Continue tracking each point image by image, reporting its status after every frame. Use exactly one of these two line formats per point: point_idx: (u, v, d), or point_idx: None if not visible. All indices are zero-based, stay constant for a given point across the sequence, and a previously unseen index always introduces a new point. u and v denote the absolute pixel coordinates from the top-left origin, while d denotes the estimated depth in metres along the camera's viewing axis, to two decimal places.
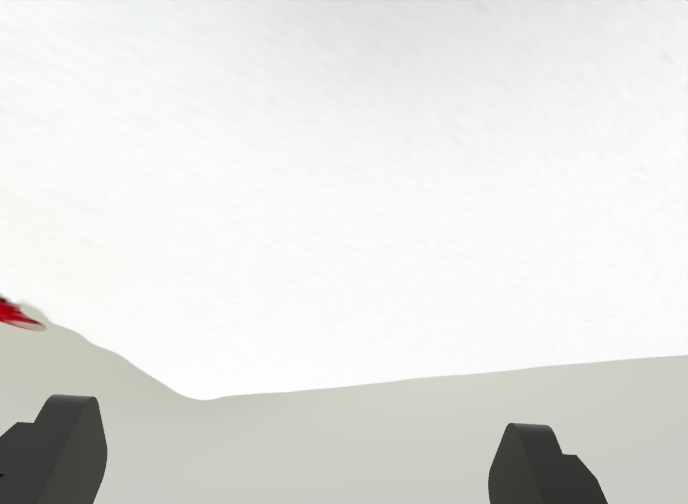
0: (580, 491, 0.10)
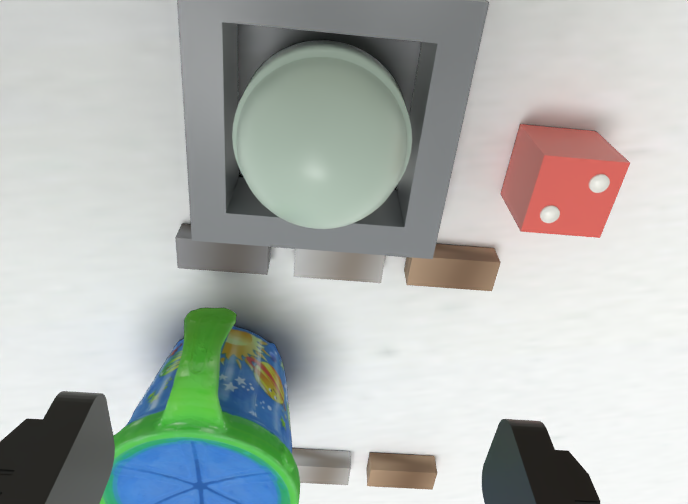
0: (572, 486, 0.10)
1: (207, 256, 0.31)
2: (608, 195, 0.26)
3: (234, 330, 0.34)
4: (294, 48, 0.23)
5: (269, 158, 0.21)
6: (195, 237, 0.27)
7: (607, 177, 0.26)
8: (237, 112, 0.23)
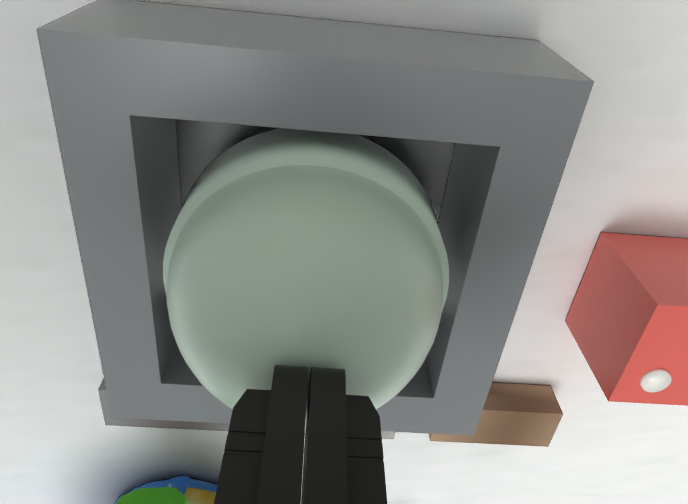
0: (359, 426, 0.11)
1: None
2: None
3: (192, 490, 0.25)
4: (260, 143, 0.14)
5: (214, 349, 0.12)
6: (116, 414, 0.18)
7: None
8: (168, 246, 0.14)
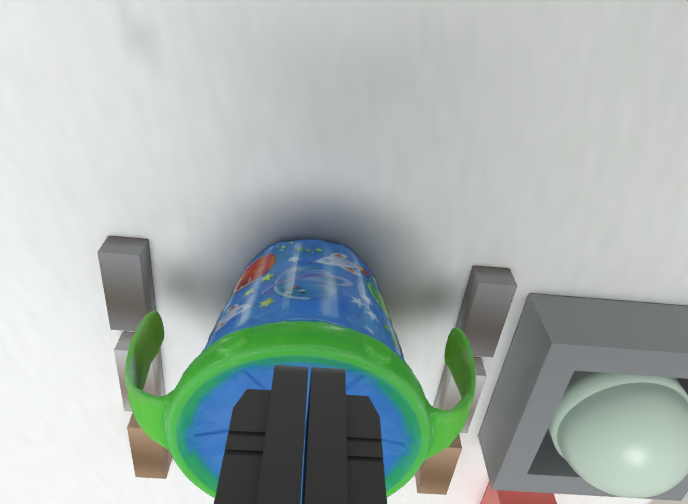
0: (359, 426, 0.11)
1: (489, 309, 0.29)
2: None
3: None
4: None
5: (671, 452, 0.28)
6: (554, 346, 0.27)
7: None
8: (667, 384, 0.29)
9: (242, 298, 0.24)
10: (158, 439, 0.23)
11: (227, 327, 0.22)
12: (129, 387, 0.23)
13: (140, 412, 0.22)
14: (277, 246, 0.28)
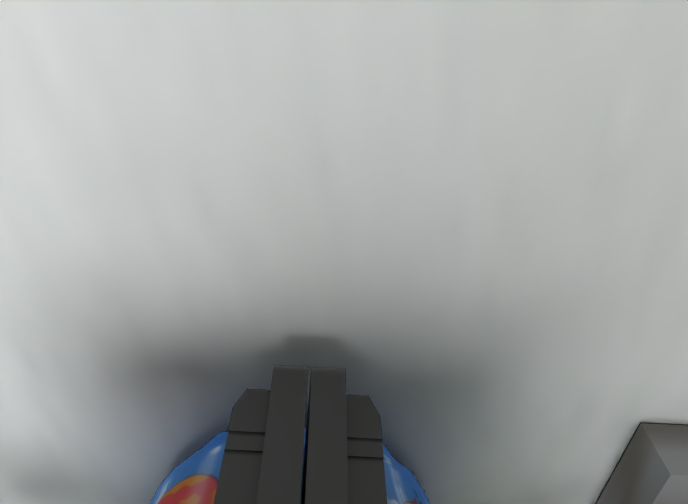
0: (359, 426, 0.11)
1: None
2: None
3: None
4: None
5: None
6: None
7: None
8: None
9: None
10: None
11: None
12: None
13: None
14: None
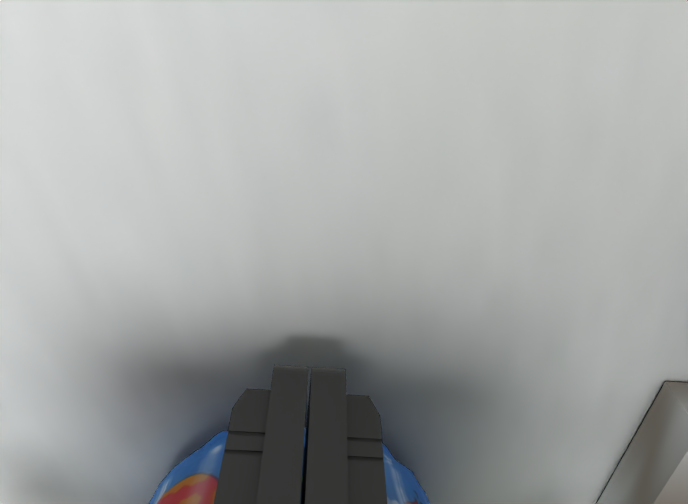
0: (359, 426, 0.11)
1: None
2: None
3: None
4: None
5: None
6: None
7: None
8: None
9: None
10: None
11: None
12: None
13: None
14: None
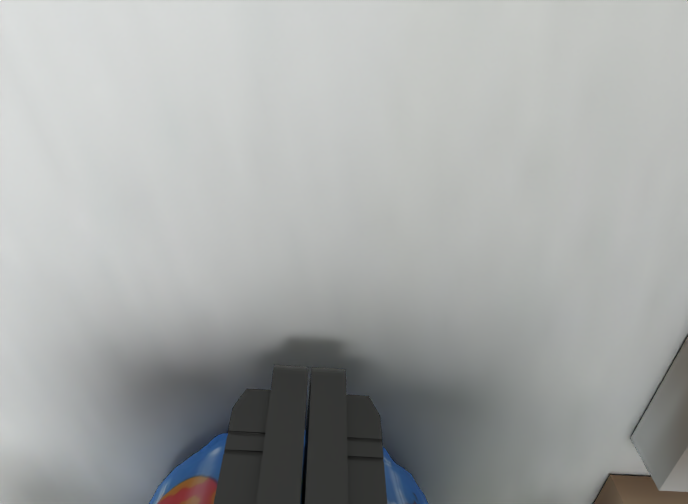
0: (359, 426, 0.11)
1: None
2: None
3: None
4: None
5: None
6: None
7: None
8: None
9: None
10: None
11: None
12: None
13: None
14: None
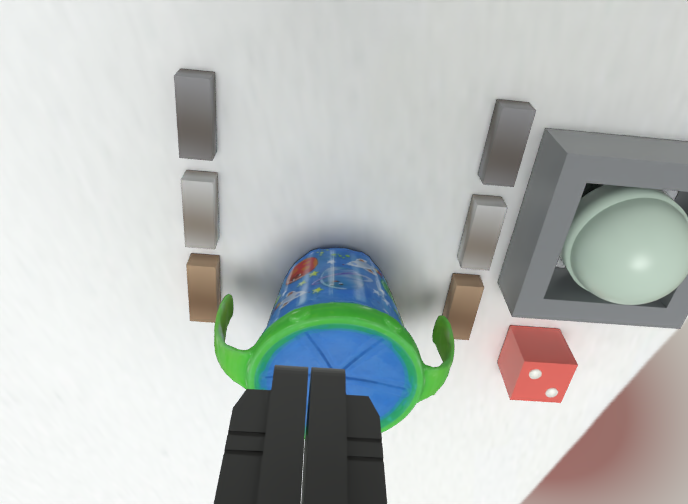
0: (359, 426, 0.11)
1: (511, 135, 0.34)
2: (540, 397, 0.42)
3: None
4: None
5: (671, 248, 0.32)
6: (569, 156, 0.32)
7: (555, 396, 0.42)
8: (667, 199, 0.34)
9: (297, 287, 0.35)
10: (238, 380, 0.34)
11: (290, 305, 0.33)
12: (220, 343, 0.33)
13: (228, 361, 0.33)
14: (317, 252, 0.38)
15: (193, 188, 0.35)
